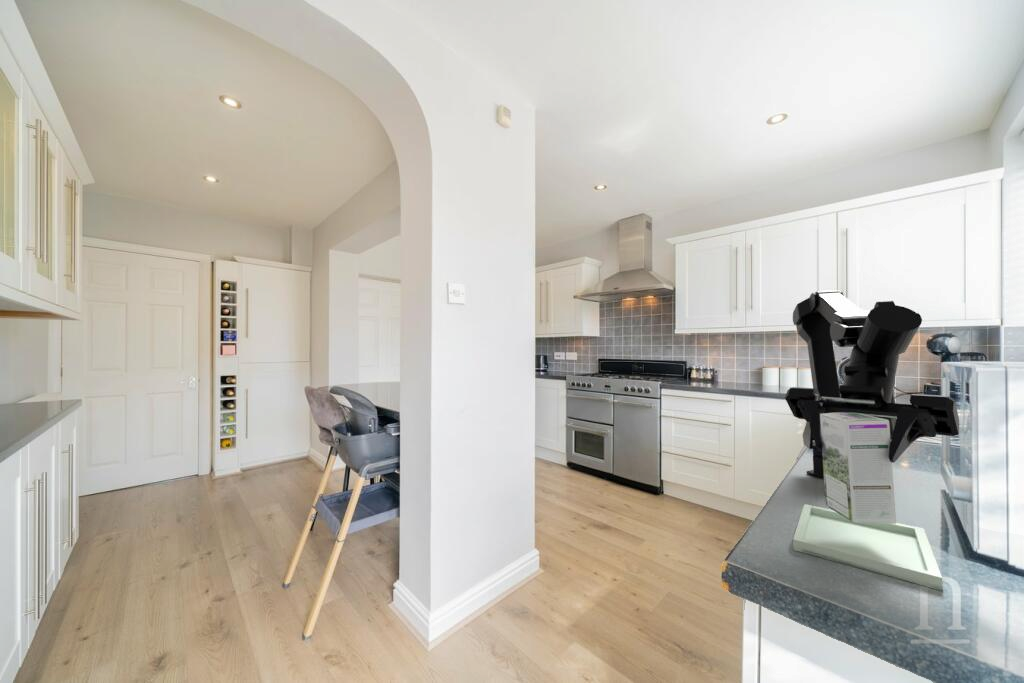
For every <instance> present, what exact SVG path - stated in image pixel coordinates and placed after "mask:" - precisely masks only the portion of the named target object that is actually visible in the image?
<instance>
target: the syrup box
mask: <svg viewBox="0 0 1024 683" xmlns="http://www.w3.org/2000/svg"><path fill="white" fill-rule="evenodd" d="M820 423H821V440H822V455H823V471H824V478H823V483H824V484H823V485H824V498H825V500H824V501H825V506H826V507H827V508H828V509H831V510H834V511H836V512H837V513H839V514H840V515H842V516H844V517H845V518H847V519H848V520H850V521H852V522H856V523H873V524H896V523H897V512H896V504H895V503H896V502H895V501H896V500H895V486H894V475H893V474H894V473H893V462H890V460H889V447H890V443H891V439H890V425H889V420H886V419H882V418H877V417H873V416H869V415H865V414H860V413H852V412H835V413H824V414H820Z"/></svg>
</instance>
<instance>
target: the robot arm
mask: <svg viewBox="0 0 1024 683" xmlns="http://www.w3.org/2000/svg"><path fill="white" fill-rule="evenodd" d="M792 322H793V325H794V326H795V327H796V332H797V334H798V336H799V337H801V339H803V340H804V341H805V342H806V344H807V350H808V358H809V359H808V360H809V366H810V374H811V382H812V388H811V387H796V386H795V387H789V389H787V391H786V393H785V396H784V399H785V401H786V403H787V405H788V407H789V409H790V411H791V413H792V415H793V417H795V418H797V419H799V420H805V422H806V423H805V426H804V430H803V433H802V440H803V442H802V443H803V445H804V446H805V447H807V448H808V449H809V450H812V467H813V468H812V469H811V470H806V474H807V475H809V476H810V475H811V476H814V475H815V476H814V477H817V476H819V477H818V478H821V477H822V478H821V479H824V471H823V455H822V440H821V423H820V414H824V413H835V412H852V413H860V414H865V415H869V416H873V417H877V418H882V419H886V420H889V425H890V439H891V443H890V447H889V460H890V462H892V464H893V463H896V462H897V460H898V459H900V457H901V456H902V454H904V452H905V451H906V450H907V449H908V448H909V447H910V446H911V444H913V443H914V442H916V441H917V440H918V439H920V438H935V437H936V436H939V435H940V436H948V437H955V436H958V435H959V432H960V418H959V413H958V409H957V408H958V407H957V404H956V400H954V399H953V398H952V397H950V396H949V395H936V394H918V393H916V394H915V393H912V394H910V398H909V403H910V404H909V403H896V401H895V399H894V396H895V395H894V393H895V390H894V387H895V380H896V375H897V370H898V369H897V368H898V363H899V359H900V354H903V353H905V352H906V351H907V350H908V347H909V346H910V344H911V342H912V340H913V338H914V337H915V335H916V334H917V332H918V330H919V328H920V326H921V325H922V322H923V318H922V316H921V314H920V313H919V312H916V311H914V310H913V309H911V308H908V307H905V306H901V305H896V304H895V302H894V300H887V301H886V300H884V301H876V302H875V304H874V306H873V308H872V309H871V310H866V309H861V308H859V307H858V306H856V305H855V304H854V303H853V302H852V301H851V300H849V299H848V298H846V297H845V296H844V293H843V291H842V290H837V289H832V290H817V291H815V292H812V293H811V294H810V295H809V297H807V298H805V299H804V300H802V301H800V302H799V303H796V306H795V308H794V310H793V311H792ZM833 342H834V343H835V345H836V346H837V347H839V348H852V349H851V353H850V357H849V360H848V364H847V366H846V365H845V366H844V370H843V372H844V373H845V376H844V380H843V384H841V385H840V383H839V376H838V370H837V362H836V356H835V350H834V343H833Z"/></svg>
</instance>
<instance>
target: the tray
mask: <svg viewBox="0 0 1024 683" xmlns="http://www.w3.org/2000/svg"><path fill="white" fill-rule="evenodd" d="M792 542H793V551H796V552H799V553H803V554H806V555H811V556H813V557H818V558H821V559H825V560H829V561H833V562H836V563H840V564H844V565H847V566H850V567H855V568H859V569H862V570H864V571H865V570H866V571H869V572H873V573H876V574H879V575H883V576H887V577H890V578H895V579H898V580H901V581H905V582H909V583H913V584H916V585H920V586H923V587H927V588H931V589H934V590H937V591H944V585H943V583H944V582H943V576H942V573H941V571H940V569H939V568H940V567H939V566H938V563H937V560H936V557H935V555H934V552H933V550H932V547H931V544H930V541H929V539H928V536H927V534H926V531H925V529H924V527H923V528H922V527H919V526H913V525H908V524H904V523H901V522H900V523H899V522H896V524H873V523H856V522H852V521H850V520H848V519H847V518H845V517H844V516H842V515H840V514H839V513H837V512H836V511H834V510H832V509H831V508H825V507H821V506H815V505H810V504H806V503H804V505H803V506H802V510H801V514H800V517H799V520H798V523H797V526H796V530H795V533H794V535H793V538H792Z"/></svg>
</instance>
